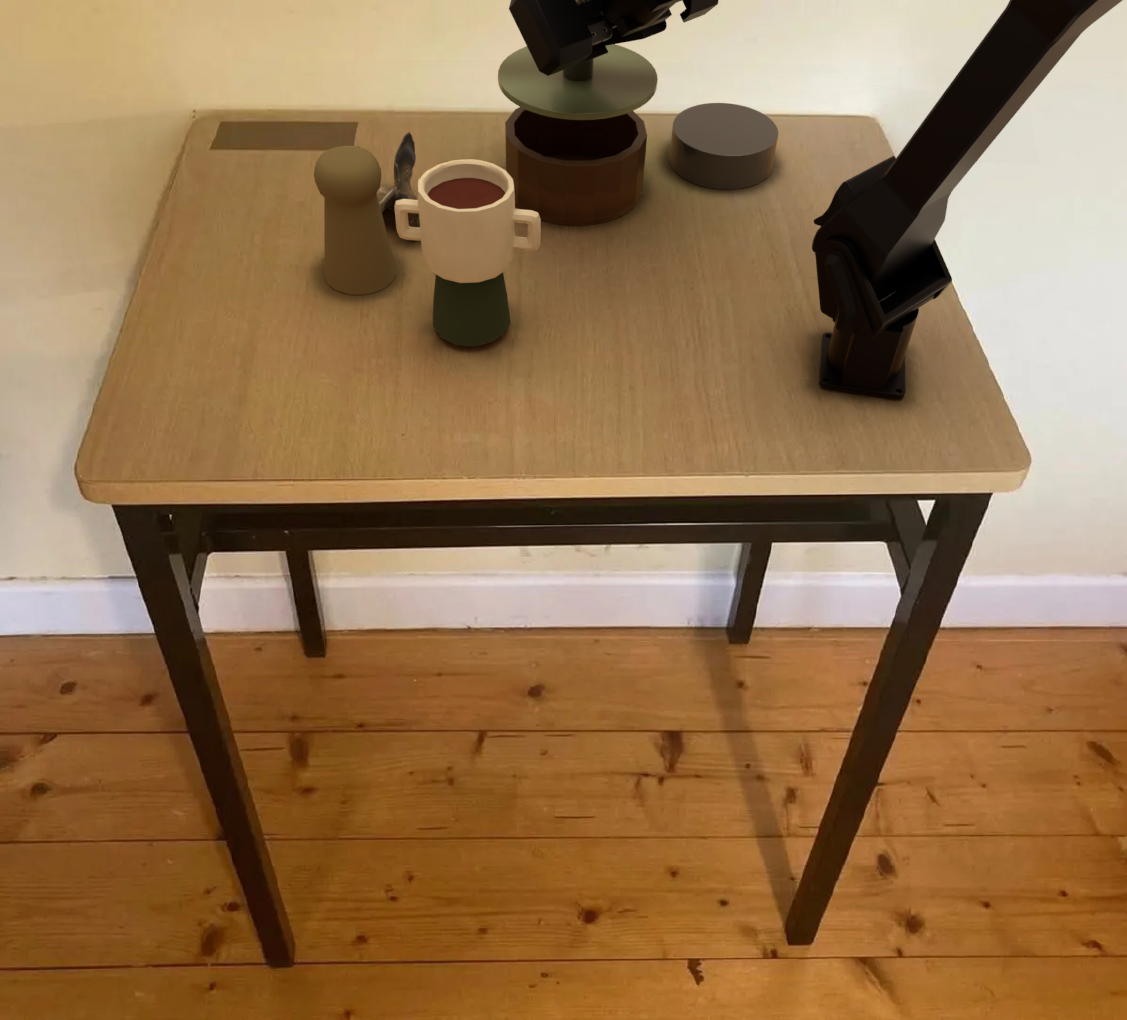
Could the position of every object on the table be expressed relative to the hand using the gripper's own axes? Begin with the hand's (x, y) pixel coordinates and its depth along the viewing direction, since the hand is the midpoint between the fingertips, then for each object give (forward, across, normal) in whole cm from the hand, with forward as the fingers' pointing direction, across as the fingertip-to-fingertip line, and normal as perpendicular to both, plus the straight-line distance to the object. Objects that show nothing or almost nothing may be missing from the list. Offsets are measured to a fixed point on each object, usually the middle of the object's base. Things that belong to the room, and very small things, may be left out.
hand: (567, 48), depth 96 cm
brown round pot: (+8, 0, +10) cm, 13 cm away
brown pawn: (+9, +23, +9) cm, 26 cm away
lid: (+1, 0, +3) cm, 3 cm away
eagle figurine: (+12, +15, +6) cm, 21 cm away
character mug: (+1, +20, +18) cm, 27 cm away
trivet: (+4, -14, +14) cm, 20 cm away
